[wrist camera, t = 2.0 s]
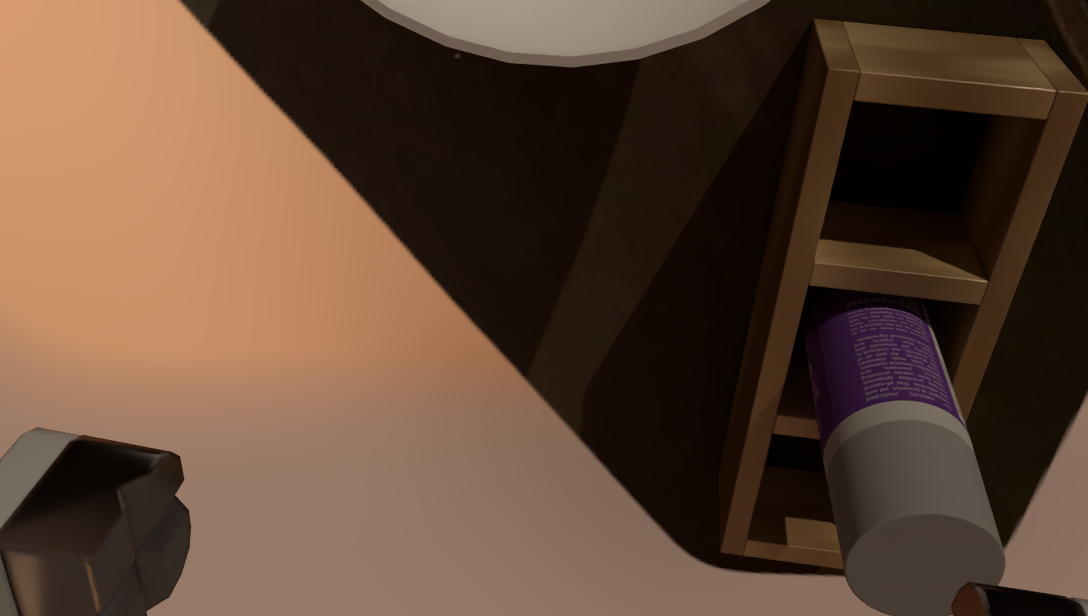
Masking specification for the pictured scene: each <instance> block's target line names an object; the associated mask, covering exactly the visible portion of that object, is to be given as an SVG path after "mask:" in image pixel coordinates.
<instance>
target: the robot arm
mask: <svg viewBox="0 0 1088 616" xmlns="http://www.w3.org/2000/svg"><path fill="white" fill-rule="evenodd" d="M183 481H184V475H183V470H182V465H181V459H180V456H178V455H176V454H174V453H172V452H170V451H164V450H159V449H154V448H148V447H143V446H138V445H133V444H128V443H122V442H117V441H112V440H107V439H101V438H95V437H91V436H86V435H82V436H81V435H75V434H70V433H65V432H60V431H54V430H49V429H44V428H39V427H37V428H34V429H32V430H30V431H28V432H27V433H24V434H23V435H21V436H20V437H19V438H18V440H17V441H16V442H15V443H14V444H13V445H12V446H11V448H10V449H9V450H8V451H7V452H6V453H5V455H4V456H3V457H2V458H1V459H0V616H147V613H146V611H147V610H149V609H151V608H152V607H154V606H155V605H157V604H159V603H160V602H162V601H164V600H165V599H167V598H169V597H170V595H171V593H172V591H173V589H174V587H175V586H176V584H177V582H178V580H179V578H180V576H181V574H182V571H183V567H184V564H185V561H186V558H187V554H188V551H189V547H190V534H191V524H190V516H189V510H188V509H187V508H186V507H185V506H184V505H183V503H182V502H181V501H180V500H179V499H178V498H177V497H176V496H175V494H176V492H177V491H178V489H179V487H180V486H181V484H182V483H183ZM951 610H952V614H953V616H1088V600H1085V599H1079V598H1067V597H1065V596H1059V595H1053V594H1047V593H1040V592H1033V591H1027V590H1021V589H1014V588H1008V587H1001V586H995V585H988V584H982V583H975V582H967V583H966V584H965V585H964V586H962V587H961V588H960V589H959V590H958V592H957V594H956V596H955V598H954V600H953V602H952V604H951Z"/></svg>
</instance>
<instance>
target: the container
mask: <svg viewBox="0 0 1088 616" xmlns="http://www.w3.org/2000/svg"><path fill="white" fill-rule="evenodd" d="M801 319H802V325H803V332H804V338H805V345H806V352H807V358H808V365H809V372H810V378H811V385H812V391H813V398H814V405H815V411H816V418H817V424H818V431H819V438H820V444H821V451H822V457H823V464H824V468H825V473H826V478H827V484H828V488H829V494H830V499H831V504H832V509H833V514H834V520H835V525H836V530H837V535H838V540H839V545H840V551H841V556H842V561H843V566H844V571H845V577H846V580H847V583H848V585H849V587H850V589H851V590H852V591H853V593H854V594H855V595H856V596H857V597H858V598H859V599H860V600H861V601H862V602H864V603H865V604H866V605H868V606H870V607H871V608H873V609H875V610H877V611H880V612H882V613H885V614H888V615H892V616H950V615H953V614H952V610H951V604H952V602H953V600H954V598H955V596H956V594H957V592H958V590H959V589H960V588H961V587H962V586H964V585H965V584H966V583H967V582H975V583H982V584H988V585H995V586H998V584H999V582H1000V580H1001V578H1002V576H1003V574H1004V569H1005V555H1004V551H1003V548H1002V544H1001V541H1000V538H999V534H998V531H997V528H996V524H995V521H994V518H993V514H992V511H991V507H990V504H989V501H988V497H987V494H986V491H985V487H984V484H983V481H982V477H981V474H980V470H979V467H978V464H977V460H976V457H975V454H974V450H973V447H972V443H971V440H970V436H969V433H968V430H967V427H966V425H965V422H964V419H963V416H962V413H961V410H960V407H959V404H958V401H957V398H956V395H955V392H954V390H953V387H952V384H951V381H950V378H949V375H948V372H947V369H946V366H945V363H944V360H943V357H942V355H941V352H940V349H939V346H938V343H937V340H936V337H935V334H934V331H933V328H932V325H931V322H930V320H929V317H928V314H927V311H926V308H925V305H924V302H923V299H922V298H915V297H906V296H897V295H889V294H880V293H871V292H862V291H854V290H845V289H836V288H827V287H819V286H810V285H809V284H808V288H807V292H806V296H805V301H804V305H803V309H802V313H801Z"/></svg>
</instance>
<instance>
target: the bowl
mask: <svg viewBox="0 0 1088 616" xmlns="http://www.w3.org/2000/svg"><path fill="white" fill-rule="evenodd" d="M361 1H362V2H364V3H365V4H366V5H368V6H369V7H371V8H372V9H374V10H375V11H376V12H378V13H379V14H381V15H382V16H383V17H385V18H387V19H389V20H391V21H393V22H395V23H397V24H399V25H402V26H404V27H406V28H408V29H410V30H412V31H414V32H416V33H418V34H421V35H423V36H425V37H427V38H429V39H431V40H433V41H435V42H438V43H440V44H442V45H444V46H446V47H450V48H454V49H458V50H462V51H465V52H469V53H473V54H477V55H481V56H484V57H488V58H492V59H496V60H500V61H503V62H507V63H519V64H533V65H548V66H562V67H579V66H587V65H595V64H603V63H612V62H620V61H628V60H636V59H641V58H644V57H647V56H650V55H653V54H656V53H659V52H662V51H666V50H669V49H672V48H675V47H678V46H681V45H684V44H687V43H690V42H693V41H697V40H700V39H703V38H705V37H707V36H708V35H710V34H712V33H714V32H716V31H718V30H719V29H721V28H723V27H725V26H727V25H729V24H730V23H732V22H734V21H736V20H738V19H740V18H741V17H743V16H745V15H747V14H749V13H751V12H753V11H754V10H756V9H758V8H760V7H762V6H764V5H765V4H767V3H768V2H769V1H770V0H361Z"/></svg>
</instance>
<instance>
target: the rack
mask: <svg viewBox="0 0 1088 616" xmlns="http://www.w3.org/2000/svg"><path fill="white" fill-rule="evenodd" d="M853 99H854V100H855V101H863V102H873V103H883V104H893V105H903V106H913V107H923V108H933V109H943V110H953V111H963V112H973V113H983V114H991V117H990V120H989V123H988V126H987V129H986V132H985V135H984V138H983V141H982V144H981V147H980V150H979V154H978V157H977V160H976V163H975V166H974V169H973V172H972V175H971V178H970V181H969V184H968V187H967V190H966V193H965V196H964V200H963V203H962V206H961V209H960V212H959V215H958V214H951V213H942V212H933V211H924V210H914V209H905V208H896V207H887V206H877V205H868V204H859V203H850V202H840V201H831V200H829V197H830V193H831V189H832V185H833V181H834V176H835V172H836V168H837V164H838V160H839V156H840V152H841V147H842V143H843V139H844V135H845V131H846V127H847V123H848V118H849V114H850V110H851V106H852V102H853ZM1087 101H1088V91H1087V90H1086V89H1085V88H1084V87H1083V85H1082V84H1081V83H1080V82H1079V81H1078V80H1077V78H1076V77H1075V76H1074V75H1073V74H1072V72H1071V71H1070V70H1069V69H1068V68H1067V67H1066V65H1065V64H1064V63H1063V62H1062V61H1061V60H1060V58H1059V57H1058V56H1057V55H1056V54H1055V53H1054V51H1053V50H1052V49H1051V48H1050V47H1049V46H1048V44H1047V43H1046V42H1045V41H1043V40H1032V39H1022V38H1016V39H1015V38H1011V37H1001V36H990V35H979V34H969V33H958V32H948V31H937V30H927V29H916V28H906V27H895V26H885V25H874V24H864V23H853V22H842V23H841V22H840V21H833V20H822V19H814V20H813V22H812V27H811V32H810V36H809V41H808V46H807V51H806V56H805V61H804V65H803V70H802V75H801V80H800V85H799V89H798V94H797V99H796V104H795V109H794V113H793V118H792V123H791V128H790V133H789V137H788V142H787V147H786V152H785V157H784V161H783V166H782V171H781V176H780V181H779V185H778V190H777V195H776V200H775V205H774V209H773V214H772V219H771V224H770V229H769V233H768V238H767V243H766V248H765V253H764V257H763V262H762V267H761V272H760V277H759V282H758V286H757V291H756V296H755V301H754V306H753V310H752V315H751V320H750V325H749V330H748V334H747V339H746V344H745V349H744V354H743V358H742V363H741V368H740V373H739V378H738V382H737V387H736V392H735V397H734V402H733V406H732V411H731V416H730V421H729V426H728V430H727V435H726V440H725V445H724V450H723V454H722V459H721V464H720V469H719V474H718V479H719V521H720V552H721V553H728V554H735V555H744V556H750V557H757V558H765V559H772V560H780V561H787V562H794V563H802V564H809V565H817V566H824V567H832V568H839V569H844V566H843V561H842V556H841V551H840V545H839V540H838V535H837V530H836V525H835V520H834V514H833V509H832V504H831V499H830V494H829V488H828V484H827V478H826V473H825V472H817V471H809V470H801V469H794V468H786V467H778V466H770V465H765V462H766V458H767V454H768V450H769V445H770V441H771V437H772V433H774V434H781V435H789V436H797V437H805V438H813V439H820V438H819V431H818V424H817V418H816V411H815V405H814V398H813V391H812V385H811V378H810V372H809V365H808V358H807V352H806V346H800V345H794V342H795V338H796V334H797V330H798V325H799V321H800V317H801V313H802V309H803V305H804V301H805V296H806V292H807V288H808V284H809V285H810V286H819V287H827V288H836V289H845V290H854V291H862V292H871V293H880V294H889V295H897V296H906V297H915V298H924V299H931V301H930V304H929V307H928V310H927V314H928V317H929V320H930V322H931V325H932V328H933V331H934V334H935V337H936V340H937V343H938V346H939V349H940V352H941V355H942V357H943V360H944V363H945V366H946V369H947V372H948V375H949V378H950V381H951V384H952V387H953V390H954V392H955V395H956V398H957V401H958V404H959V407H960V410H961V413H962V416H963V419H964V422H966V419H967V417H968V414H969V411H970V409H971V406H972V404H973V401H974V398H975V396H976V393H977V390H978V388H979V385H980V383H981V380H982V377H983V375H984V372H985V369H986V367H987V364H988V362H989V359H990V356H991V354H992V351H993V348H994V346H995V343H996V340H997V338H998V335H999V333H1000V330H1001V327H1002V325H1003V322H1004V319H1005V317H1006V314H1007V312H1008V309H1009V306H1010V304H1011V301H1012V298H1013V296H1014V293H1015V290H1016V288H1017V285H1018V283H1019V280H1020V277H1021V275H1022V272H1023V269H1024V267H1025V264H1026V262H1027V259H1028V256H1029V254H1030V251H1031V248H1032V246H1033V243H1034V240H1035V238H1036V235H1037V233H1038V230H1039V227H1040V225H1041V222H1042V219H1043V217H1044V214H1045V212H1046V209H1047V206H1048V204H1049V201H1050V198H1051V196H1052V193H1053V190H1054V188H1055V185H1056V183H1057V180H1058V177H1059V175H1060V172H1061V169H1062V167H1063V164H1064V162H1065V159H1066V156H1067V154H1068V151H1069V148H1070V146H1071V143H1072V140H1073V138H1074V135H1075V133H1076V130H1077V127H1078V125H1079V122H1080V119H1081V117H1082V114H1083V112H1084V109H1085V106H1086V104H1087Z"/></svg>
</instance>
